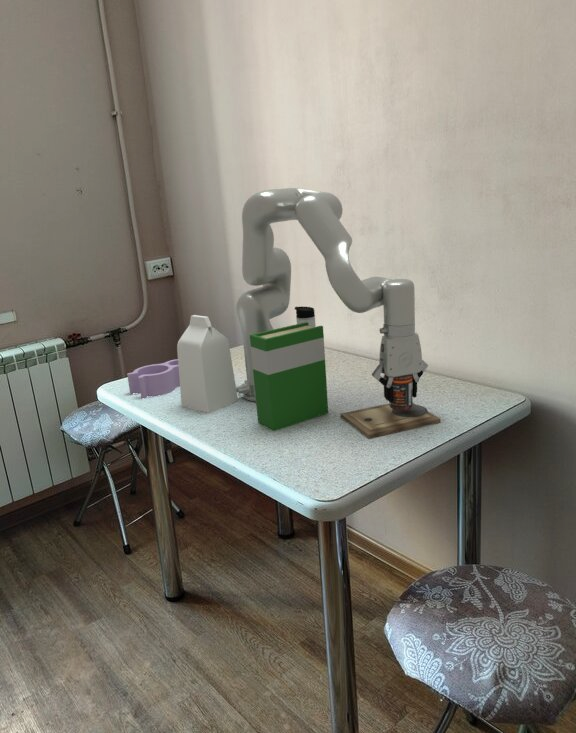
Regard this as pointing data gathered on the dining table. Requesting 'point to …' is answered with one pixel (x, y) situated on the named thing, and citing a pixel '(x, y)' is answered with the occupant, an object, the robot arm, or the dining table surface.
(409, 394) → the supplement bottle
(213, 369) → the milk
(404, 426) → the brown flat wooden board
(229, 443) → the dining table surface
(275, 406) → the hardback book
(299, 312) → the travel mug
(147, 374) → the clip
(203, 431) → the dining table surface
